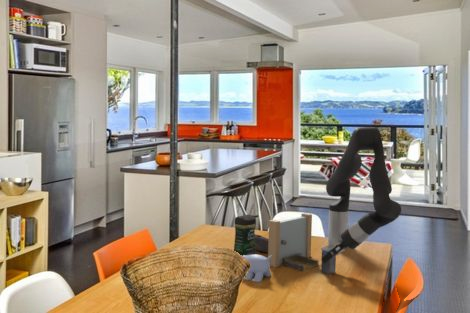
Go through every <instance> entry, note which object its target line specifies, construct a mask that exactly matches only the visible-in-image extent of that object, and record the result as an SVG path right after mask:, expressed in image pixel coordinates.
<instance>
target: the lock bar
mask: <svg viewBox="0 0 470 313" xmlns="http://www.w3.org/2000/svg"><path fill="white" fill-rule="evenodd" d="M332 247H333V246H330V245H326V246H323V247H321V248H320V250H321V259H322V258H323V257H324V256H325V255H326V254H327V252H329V251H330V250H331V248H332ZM330 253H331V254H332V255H334V253H333V252H330ZM320 264H321V266H320V268H321V270H320V272H321V273H322V274H327V275H329V276H330V275H332V274H335V273H336V266H337V265H336V264H337V256H336V255H335V256H334V257H333V258H331V259H330V260H328V261H327V262H326V263H324V262H323V261H322V260H321V263H320Z"/></svg>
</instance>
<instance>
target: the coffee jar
mask: <svg viewBox="0 0 470 313" xmlns="http://www.w3.org/2000/svg"><path fill="white" fill-rule="evenodd" d="M256 219H257V217H256V216H255V215H252V214H245V215H244V214H243V215H240V216H236V217H234V229H235V232H234V233H235V234H234V244H233V252H234V251H236V252H238V253H239V254H240V255H242V256H243V255H246V256H247V255H253V254H256V250H255V234H256V233H255V229H256V225H257V221H256Z"/></svg>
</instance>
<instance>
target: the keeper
mask: <svg viewBox="0 0 470 313" xmlns="http://www.w3.org/2000/svg"><path fill="white" fill-rule="evenodd" d="M282 266H285V267H288V268H291V269H294V270H297V271H301V272H302V271H306V270H308V269H311V268H314V267H317V266H319V260H318V259H314V258H310V257H305V256H302V253H298V254H295V255H291V256H288V257H285V258H283V264H282Z"/></svg>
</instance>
